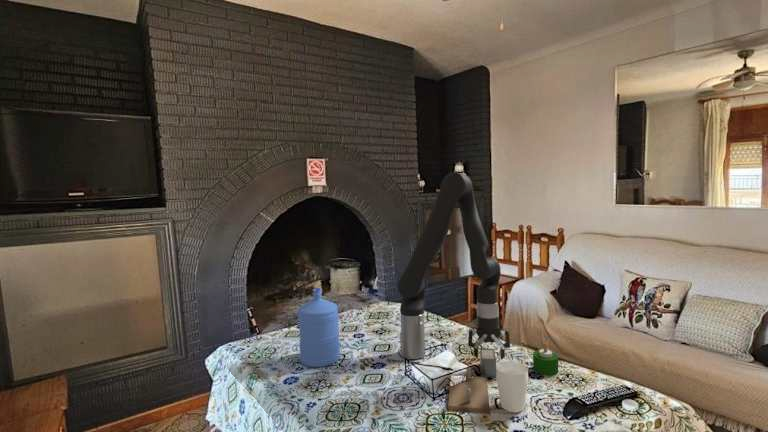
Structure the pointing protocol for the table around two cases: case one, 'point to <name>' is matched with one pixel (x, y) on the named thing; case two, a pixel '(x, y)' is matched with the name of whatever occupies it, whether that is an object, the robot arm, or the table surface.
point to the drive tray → (470, 395)
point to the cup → (512, 385)
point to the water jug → (318, 332)
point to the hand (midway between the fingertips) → (489, 358)
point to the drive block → (487, 363)
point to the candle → (545, 362)
